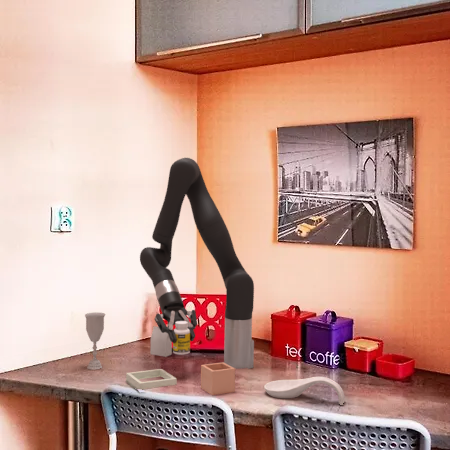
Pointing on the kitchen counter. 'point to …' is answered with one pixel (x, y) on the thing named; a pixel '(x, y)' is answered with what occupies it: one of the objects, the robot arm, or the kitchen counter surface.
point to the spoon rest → (300, 387)
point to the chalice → (94, 334)
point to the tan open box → (217, 378)
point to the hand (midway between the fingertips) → (183, 340)
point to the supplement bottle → (181, 338)
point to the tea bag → (160, 343)
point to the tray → (134, 376)
